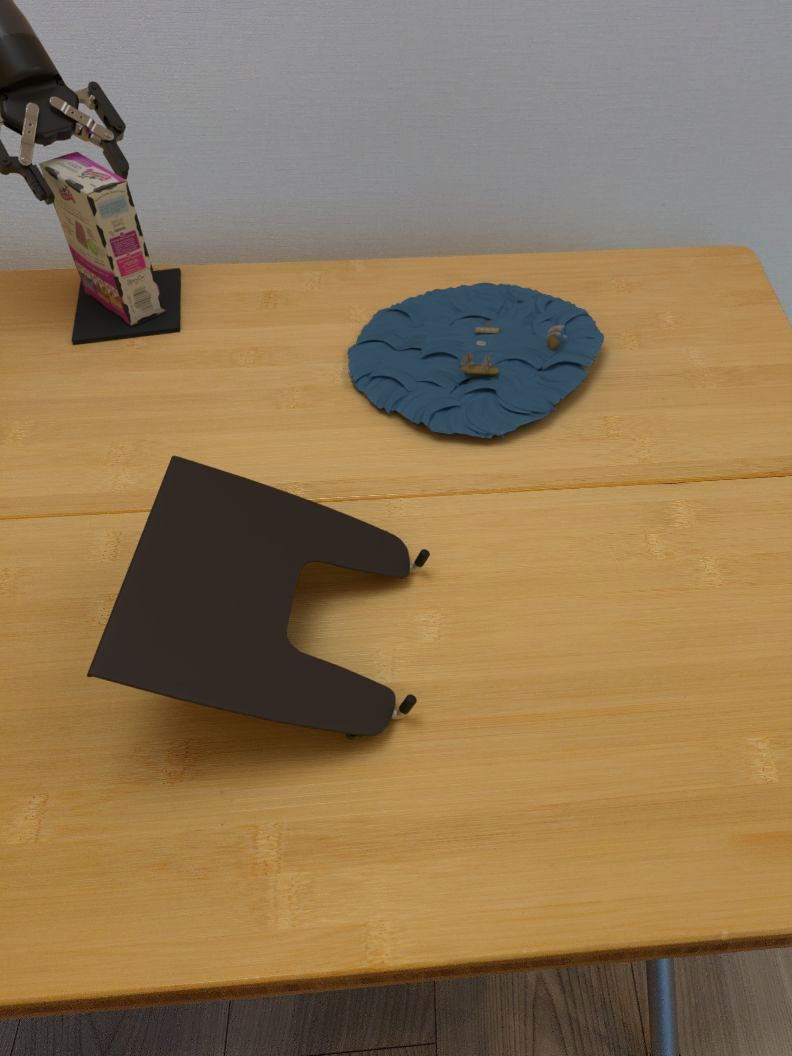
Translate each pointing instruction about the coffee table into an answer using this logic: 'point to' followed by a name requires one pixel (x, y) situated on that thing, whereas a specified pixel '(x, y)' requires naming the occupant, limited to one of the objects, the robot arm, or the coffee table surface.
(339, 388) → the coffee table surface
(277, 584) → the laptop tray
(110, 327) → the mat
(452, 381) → the blue wavy sea disc
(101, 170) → the candy bar box
